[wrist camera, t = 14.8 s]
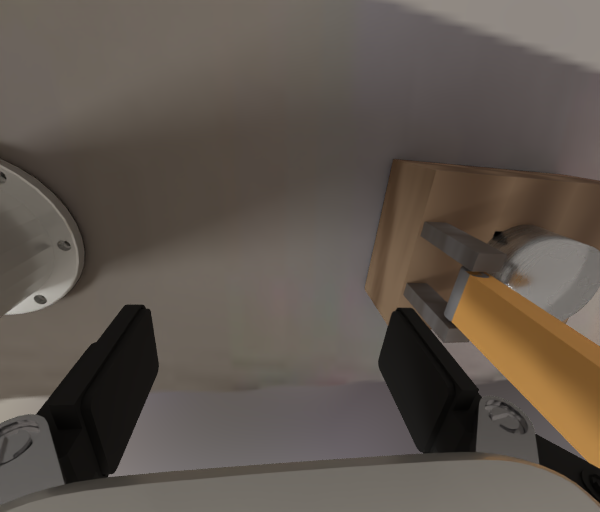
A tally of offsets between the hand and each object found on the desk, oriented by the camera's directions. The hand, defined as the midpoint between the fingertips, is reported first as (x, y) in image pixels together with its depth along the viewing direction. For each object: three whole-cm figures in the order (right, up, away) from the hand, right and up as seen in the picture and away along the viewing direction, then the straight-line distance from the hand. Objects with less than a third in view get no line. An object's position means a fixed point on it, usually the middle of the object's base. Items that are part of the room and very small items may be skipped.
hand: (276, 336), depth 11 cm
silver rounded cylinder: (+16, +5, +14) cm, 22 cm away
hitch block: (+16, +5, +15) cm, 22 cm away
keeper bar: (+11, -1, +1) cm, 11 cm away
